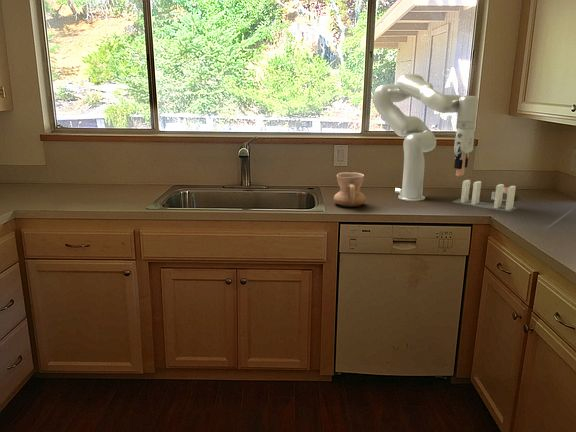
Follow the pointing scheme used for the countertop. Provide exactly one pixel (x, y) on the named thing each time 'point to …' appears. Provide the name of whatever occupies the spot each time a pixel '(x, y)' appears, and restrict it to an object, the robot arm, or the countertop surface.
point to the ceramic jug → (350, 189)
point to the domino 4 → (498, 195)
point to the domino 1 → (461, 171)
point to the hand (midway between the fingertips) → (460, 167)
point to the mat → (484, 205)
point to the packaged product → (502, 196)
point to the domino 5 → (510, 197)
